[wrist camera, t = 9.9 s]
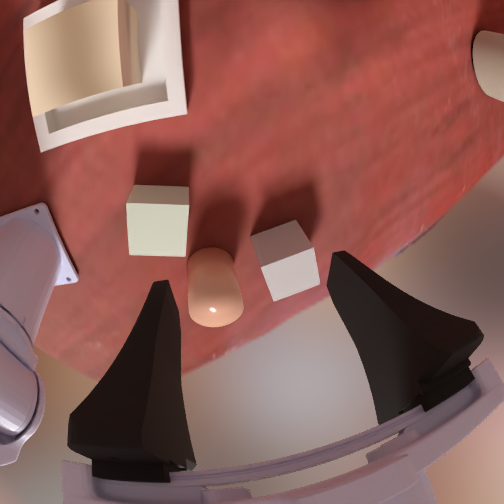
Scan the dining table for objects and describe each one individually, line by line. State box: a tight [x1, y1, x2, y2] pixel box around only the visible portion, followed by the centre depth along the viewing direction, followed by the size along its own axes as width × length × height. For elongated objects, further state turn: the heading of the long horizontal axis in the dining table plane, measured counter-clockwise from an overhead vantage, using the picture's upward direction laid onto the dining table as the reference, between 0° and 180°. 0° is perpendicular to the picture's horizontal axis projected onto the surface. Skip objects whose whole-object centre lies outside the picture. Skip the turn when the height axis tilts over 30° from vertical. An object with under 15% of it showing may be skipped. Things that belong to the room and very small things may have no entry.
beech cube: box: [24, 0, 142, 117], centre depth 10 cm, size 5×5×5 cm
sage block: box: [126, 185, 189, 257], centre depth 19 cm, size 4×4×3 cm
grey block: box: [250, 220, 320, 301], centre depth 22 cm, size 4×4×4 cm
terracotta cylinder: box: [187, 247, 244, 327], centre depth 22 cm, size 4×4×5 cm
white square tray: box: [23, 0, 188, 152], centre depth 11 cm, size 10×10×2 cm
